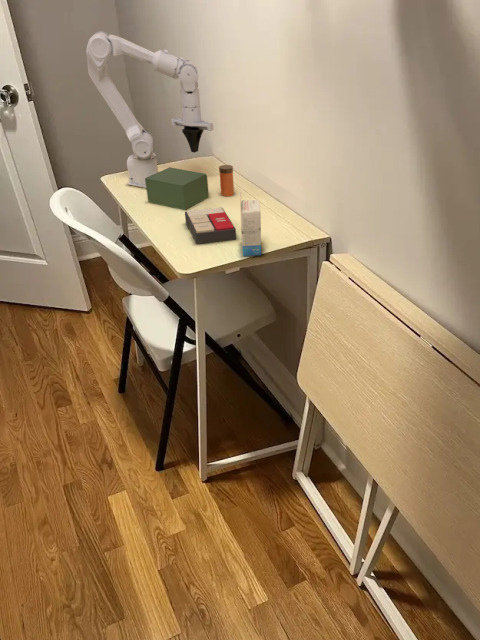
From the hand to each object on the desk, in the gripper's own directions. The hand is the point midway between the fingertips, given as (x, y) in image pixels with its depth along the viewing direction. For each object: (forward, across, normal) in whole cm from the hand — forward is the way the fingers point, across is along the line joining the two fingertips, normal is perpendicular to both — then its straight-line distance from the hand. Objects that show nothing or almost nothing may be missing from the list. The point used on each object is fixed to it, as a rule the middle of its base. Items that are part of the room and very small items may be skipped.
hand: (194, 151), depth 185 cm
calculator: (+10, -27, +34) cm, 44 cm away
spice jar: (+10, -15, +5) cm, 19 cm away
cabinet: (+10, -4, +17) cm, 20 cm away
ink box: (+10, -43, +38) cm, 59 cm away
